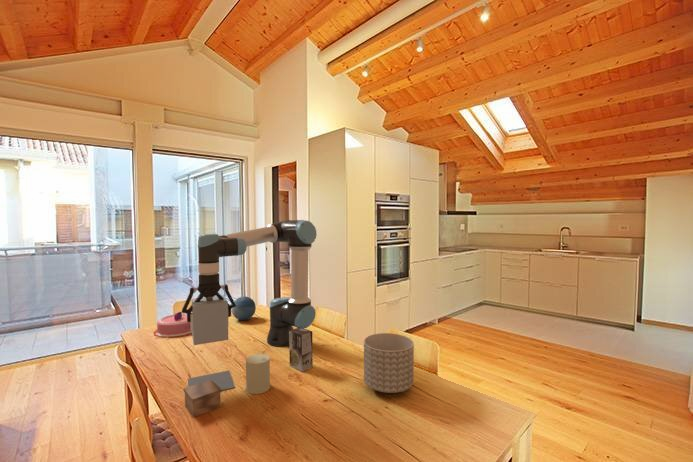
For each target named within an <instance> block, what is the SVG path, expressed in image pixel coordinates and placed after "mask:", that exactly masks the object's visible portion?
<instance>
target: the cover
mask: <svg viewBox="0 0 693 462" xmlns="http://www.w3.org/2000/svg"><path fill="white" fill-rule="evenodd" d="M221 296H222V297H223V298H224V299H223V300H220V299H219V298H218V297H217V296H214V297H207V298H205V297H203V298H202V299H201V300H200V301H199V302H195V300H196V298H197V297H196V298H191V305H193V311H192V313H193V331H192V336H191V337H192V342H193V343H192V344H193V346H197V345H205V344H209V343H210V344H212V343H218V342H223V341H229V326H228V325H229V317H228V304H229V302H228V301H229V300H227V298H226V297H225V295H221Z"/></svg>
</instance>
